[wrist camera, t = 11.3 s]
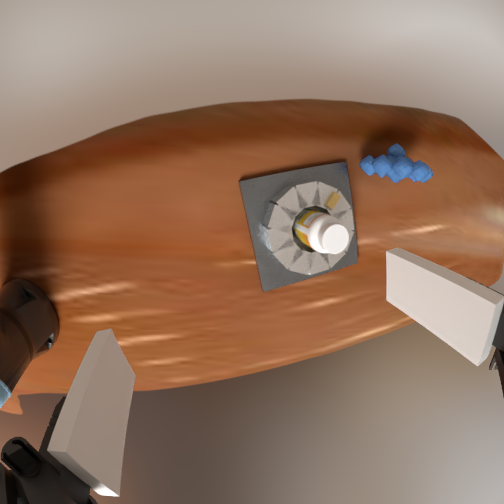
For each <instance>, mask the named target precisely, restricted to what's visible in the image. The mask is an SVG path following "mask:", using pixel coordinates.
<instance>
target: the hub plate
mask: <svg viewBox="0 0 504 504" xmlns="http://www.w3.org/2000/svg"><path fill="white" fill-rule="evenodd" d="M238 182H239V186H240V191H241V195H242V200H243V204H244V209H245V214H246V218H247V223H248V227H249V232H250V237H251V241H252V246H253V250H254V255H255V259H256V264H257V269H258V273H259V278H260V282H261V287H262V290H263V292H265V291H269V290H272V289H275V288H279V287H282V286H286V285H289V284H292V283H296V282H299V281H302V280H306V279H309V278H312V277H315V276H319V275H322V274H325V273H328V272H331V271H334V270H338V269H341V268H344V267H347V266H350V265H353V264H356V263H358V253H357V241H356V231H355V221H354V213H353V205H352V197H351V190H350V183H349V177H348V170H347V164H346V162H339V163H333V164H326V165H320V166H314V167H308V168H303V169H297V170H292V171H286V172H281V173H276V174H271V175H266V176H261V177H257V178H252V179H247V180H243V181H238ZM308 209H311V210H315V211H318V212H322V213H325V214H328V215H331V216H334V217H336V218H337V219H338V220H339V221H340V222H341V224H342V225H343V226H344V227H345V228H346V229H347V231H348V234H349V241H348V244H347V246H346V248H345V249H344V250H343V251H342V252H340V253H338V254H331V253H320V252H317V251H315V250H314V249H312V248H311V247H309V246H308V245H306V244H305V243H303V242H302V241H300V240H299V239H298V238H297V237H296V236H295V234H294V231H293V223H294V220H295V218H296V216H297V215H298V214H299V213H300V212H302V211H304V210H308Z"/></svg>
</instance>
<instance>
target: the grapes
mask: <svg viewBox="0 0 504 504" xmlns="http://www.w3.org/2000/svg"><path fill="white" fill-rule="evenodd" d="M387 154H388V156H385V155H383V154H382V155H381V156H379V157H377V158H376V159H374V158H373V157H372V156H371V155H368V156H367V157H365V158H364V159H362V160H361V162H360V167H361V168H362V169H363V170H364V171H365V172H366V173H367V174H368V175H369V176H371V175H372V174H374V173H377V174H378V175H379V176H380V177H381V178H382V177H384V176H386V175H387V176H388V177H389V178H390V179H391V180H392V181H393V182H394V183H397V182H399V181H400V180H402V179H403V178H407V177H408V178H411V179H412V180H413V181H414V182H416V181H421V182H423V183H424V182H426V181H427V180H429V179H430V178H431V177H432V176H433V172H432V170H431V169H430V167H429V166H427V165H426V164H425V163H423V162H421V161H420V160H419V161H417V162H415V163H414V162H413V161H412V160H411V159H410V158H408V157H406V158H405V156H406V152H405V150H404V149H403V148H402V147H401V146H400V145H399V144H397V143H396V144H394V145H392V146H391V147H390V148H389V149H388V150H387Z"/></svg>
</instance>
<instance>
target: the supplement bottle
mask: <svg viewBox="0 0 504 504" xmlns="http://www.w3.org/2000/svg"><path fill="white" fill-rule="evenodd" d="M293 231H294V234H295V236H296V237H297V238H298V239H299V240H300V241H302V242H303V243H305V244H306V245H308V246H309V247H311V248H312V249H314V250H315V251H317V252H320V253H331V254H338V253H340V252H342V251H343V250H344V249H345V248H346V246H347V244H348V241H349V234H348V231H347V229H346V228H345V227H344V226H343V225H342V224H341V222H340V221H339V220H338V219H337V218H336V217H334V216H331V215H328V214H325V213H322V212H318V211H315V210H311V209H308V210H304V211H302V212H300V213H299V214H298V215H297V216H296V218H295V220H294V223H293Z"/></svg>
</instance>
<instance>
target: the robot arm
mask: <svg viewBox="0 0 504 504" xmlns="http://www.w3.org/2000/svg"><path fill="white" fill-rule="evenodd" d="M386 262H387V301H388V302H390V303H391V304H393V305H394V306H396V307H397V308H398V309H400V310H401V311H403V312H404V313H406V314H407V315H408V316H410V317H411V318H413V319H414V320H415V321H417V322H418V323H420V324H421V325H423V326H424V327H425V328H427V329H428V330H429V331H431V332H432V333H434V334H435V335H436V336H438V337H439V338H440V339H442V340H443V341H445V342H446V343H447V344H449V345H450V346H451V347H453V348H454V349H456V350H457V351H458V352H459V353H461V354H462V355H463V356H465V357H466V358H467V359H469V360H470V361H471V362H473V363H474V364H476V365H477V366H478V365H480V364H481V363H482V362H483V361H484V360H485V359H486V358H487V357H488V355H489V352H490V349H491V346H492V345H494V346H495V347H496V350H495V352H494V355H493V358H492V361H491V363H490V366H489V370H492V367H493V365H494V362H496V366H495V369H498V371H499V376H500V380H501V385H502V390H503V396H504V295H503V294H501V293H499V292H497V291H495V290H493V289H491V288H489V287H487V286H484V285H483V284H481V283H477V282H476V281H474V280H472V279H470V278H467V277H464V276H462V275H460V274H458V273H455V272H453V271H451V270H449V269H447V268H444V267H442V266H440V265H438V264H435V263H433V262H431V261H429V260H426V259H424V258H422V257H419V256H417V255H415V254H412V253H410V252H407V251H405V250H403V249H400V248H398V247H397V248H394V249H391V250H388V251H386ZM58 335H59V323H58V318H57V315H56V312H55V310H54V308H53V306H52V304H51V302H50V301H49V299H48V298H47V296H46V295H45V294H44V293H43V292H42V291H41V290H40V289H39V288H38V287H37V286H36V285H34V284H33V283H31V282H29V281H27V280H24V279H13V280H11V281H9V282H8V283H7V284H5V285H4V286H3V287H2V288H1V289H0V408H1V407H2V406H3V404H4V403H5V402H6V400H7V399H8V398H9V397H10V396H11V393H12V391H13V389H14V388H15V386H16V384H17V383H18V381H19V379H20V378H21V376H22V374H23V373H24V371H25V370H26V368H27V367H28V365H29V364H30V362H31V361H32V360H33V359H35V358H37V357H39V356H40V355H42V354H44V353H46V352H48V351H49V350H50V349H51V348H52V346H53V345H54V343H55V342H56V340H57V338H58ZM135 377H136V375H135V374H134V372H133V370H132V368H131V367H130V365H129V363H128V361H127V359H126V357H125V356H124V354H123V352H122V350H121V348H120V346H119V344H118V342H117V340H116V338H115V336H114V334H113V332H112V330H111V329H107V330H102V331H97V332H96V334H95V336H94V338H93V340H92V342H91V344H90V346H89V348H88V350H87V352H86V354H85V357H84V359H83V361H82V363H81V365H80V367H79V369H78V372H77V374H76V376H75V378H74V381H73V383H72V385H71V388H70V390H69V392H68V395H67V396H66V397H63V398H62V399H61V401H60V402H59V403H58V404H57V405H56V407H55V410H54V412H53V415H52V418H51V419H50V422H49V426H48V427H47V430H46V433H45V435H44V438H43V441H42V444H41V447H40V449H39V452H38V451H37V450H36V449H35V448H33V447H32V445H30V444H29V442H28V441H27V440H26V439H24V438H22V437H14V438H12V439H10V440H9V441H8V442H7V443H6V444H5V445H4V447H3V449H2V452H1V460H2V461H3V462H4V463H5V464H6V465H7V466H8V467H9V468H10V469H12V470H8V469H7V468H6V467H5V466H4V465H2V463H0V504H97V502H96V501H95V499H94V498H93V497H92V496H90V495H89V493H90V488H92V489H93V490H94V491H96V492H97V493H98V494H100V495H107V496H120V482H121V470H122V460H123V451H124V444H125V436H126V428H127V422H128V416H129V410H130V404H131V398H132V392H133V387H134V382H135Z"/></svg>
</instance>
